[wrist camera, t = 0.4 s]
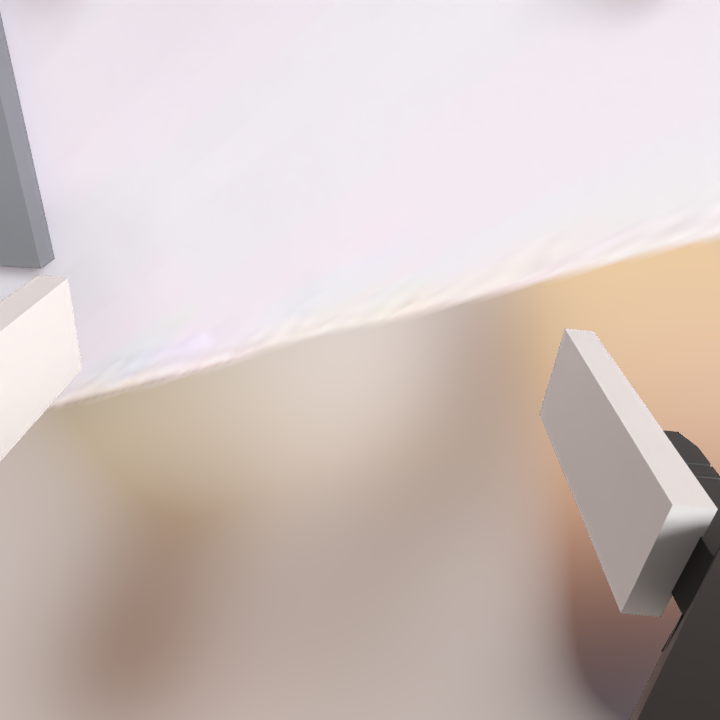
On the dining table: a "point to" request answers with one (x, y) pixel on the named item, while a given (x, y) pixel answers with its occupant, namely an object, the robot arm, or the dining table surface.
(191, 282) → the dining table surface
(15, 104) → the spindle stand
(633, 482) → the robot arm
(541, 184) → the dining table surface
